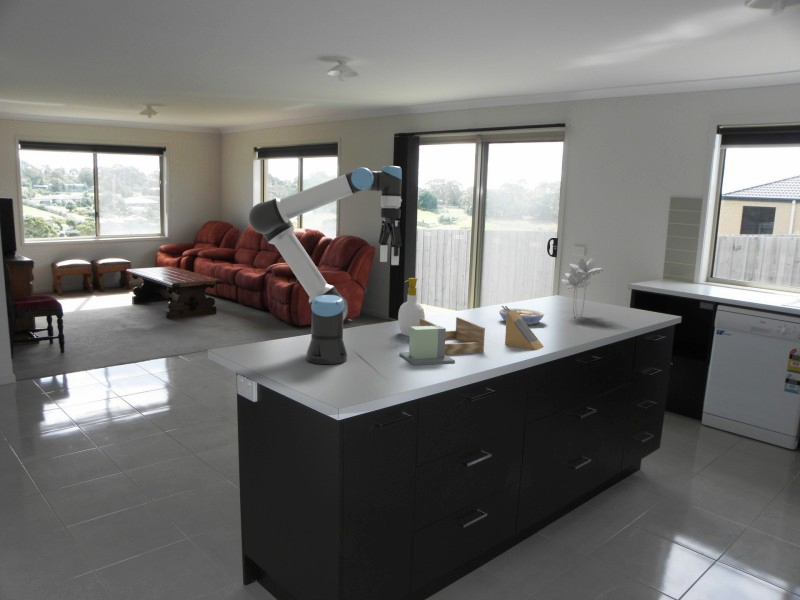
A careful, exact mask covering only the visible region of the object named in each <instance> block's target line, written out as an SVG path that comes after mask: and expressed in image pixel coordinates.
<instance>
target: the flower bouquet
mask: <svg viewBox="0 0 800 600" xmlns="http://www.w3.org/2000/svg"><path fill="white" fill-rule="evenodd" d="M595 262H596V260H595V258H594V257H592V258H590V259H589V260H588V261H587V262H586V260H585V258H584V257H583V256H582V257H581V258H580V259H579V261H578V262H577V263H578V265H577V264H575V263H574V264H573V263H569V266H570V267H571V268H570V272H566V273H565V274H564V275H565V276H566V277H567V279H563V278H562V279H560V280H561V282H562V283H563V284H564V285H566V286H567V287H566V289H568V290H569V289H573V298H572V299H573V301H572V314H573V318H576V316H577V315H578V311H577V295H578V289H580V288H584V291H583V293H584V294H583V301H582V308H581V313H580V315H579V317H580V318H582V316H583V313H584V307H585V301H586V287H588V286H589V285H590V283H591V281H587V280H590V278H592V276H595V275H599V274H600V273H601V272H603V271H604V268H602V267H596V268H595V266H596V263H595Z"/></svg>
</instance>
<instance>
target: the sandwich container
mask: <svg viewBox="0 0 800 600" xmlns="http://www.w3.org/2000/svg"><path fill="white" fill-rule="evenodd" d="M505 322H506V323H505V334H504V335H505V336H504V337H505V339H504V345H506V346H510V347H516V348H521V349H526V350H533V351H538V350H539V351H540V350H541V349H543V348H544V347H545V346H544V345H543V344H542V342H541V341H540V340H539V339H538V337H537V336H536V334H535V333H534V332H533V331H532V330H531V328H530V327H529V325H527V324H526V323H525V321H524V320H523V319H522V317H521V316H520V315H519V313H518V312H517V311H516V310H515V311H509V312H507V317H506V321H505Z"/></svg>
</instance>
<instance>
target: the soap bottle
mask: <svg viewBox="0 0 800 600" xmlns="http://www.w3.org/2000/svg"><path fill="white" fill-rule="evenodd" d="M417 281H418V278H416V277H409V278H408V279H407V280H405V281H404V283H406V282H408V285H409V287H408V290H407V291H408V293H407V297H406V298H407V301H406V302H403V303H402V304H401V305H400V307H399V309H398V316H397V319H398V321H397V322H398V327H399V331H400V334H401V335H404V336H406V337H410V327H414V326H420V318H422V319H424V320H426V319H425V317H426V314H425V311H424V308H423V307H422V305H421V304H420V303H419V302H418V301H417V298H418V294H417Z"/></svg>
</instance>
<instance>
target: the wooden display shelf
mask: <svg viewBox="0 0 800 600" xmlns="http://www.w3.org/2000/svg"><path fill="white" fill-rule="evenodd" d="M420 326H438V325H437V324H435V323H433V322H430V321H428V320H427V319H425V320H424V319H422V318H420ZM485 332H486V327H484V326H482V325H478V324H476V323H474V322H471V321H468V320H466V319H464V318H462V317H458V316H456V318H455V330H446V334H445V340H448V339H449V338H454V339H456V338H457V339H456V340H458V339H459V340H458V341H461V342H458V343H457V342H454V343H445V355H454V354H455V355H457V354H470V353H481V352H482V353H483V352H485ZM449 340H450V339H449Z"/></svg>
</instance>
